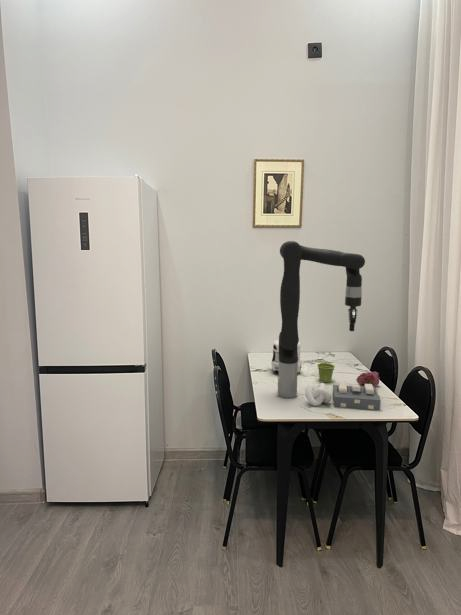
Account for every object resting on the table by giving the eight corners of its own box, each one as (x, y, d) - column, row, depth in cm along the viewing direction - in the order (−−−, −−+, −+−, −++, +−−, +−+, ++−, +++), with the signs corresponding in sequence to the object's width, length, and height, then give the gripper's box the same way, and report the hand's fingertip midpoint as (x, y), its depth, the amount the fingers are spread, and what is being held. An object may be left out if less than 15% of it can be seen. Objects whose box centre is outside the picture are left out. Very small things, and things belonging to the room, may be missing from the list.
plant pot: (337, 380, 219) (338, 365, 217) (328, 385, 212) (329, 369, 211) (322, 376, 225) (322, 362, 224) (313, 381, 218) (313, 365, 217)
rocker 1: (339, 392, 188) (339, 390, 187) (338, 383, 194) (338, 380, 193) (346, 393, 187) (346, 390, 186) (345, 383, 193) (346, 381, 192)
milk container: (300, 367, 241) (300, 338, 238) (302, 377, 224) (303, 346, 221) (271, 367, 243) (271, 338, 240) (271, 376, 226) (271, 345, 223)
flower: (357, 389, 216) (363, 372, 218) (376, 394, 210) (381, 377, 213) (352, 382, 207) (358, 364, 210) (372, 388, 201) (378, 369, 204)
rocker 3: (366, 393, 185) (366, 390, 184) (364, 386, 191) (364, 383, 191) (373, 394, 184) (374, 390, 184) (371, 387, 191) (372, 383, 190)
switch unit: (334, 407, 184) (334, 391, 183) (332, 394, 200) (333, 380, 198) (380, 410, 180) (380, 395, 179) (374, 397, 196) (375, 382, 194)
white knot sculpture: (313, 410, 181) (314, 391, 180) (299, 400, 192) (299, 382, 190) (334, 406, 185) (334, 387, 184) (318, 397, 196) (319, 379, 195)
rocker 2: (352, 390, 186) (352, 387, 186) (351, 387, 193) (351, 384, 192) (360, 391, 185) (360, 387, 185) (358, 388, 192) (358, 384, 192)
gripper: (344, 293, 200) (342, 327, 203) (346, 297, 187) (344, 333, 190) (360, 294, 198) (358, 328, 201) (363, 297, 186) (361, 334, 189)
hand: (351, 330), depth 196 cm, fingers closed
